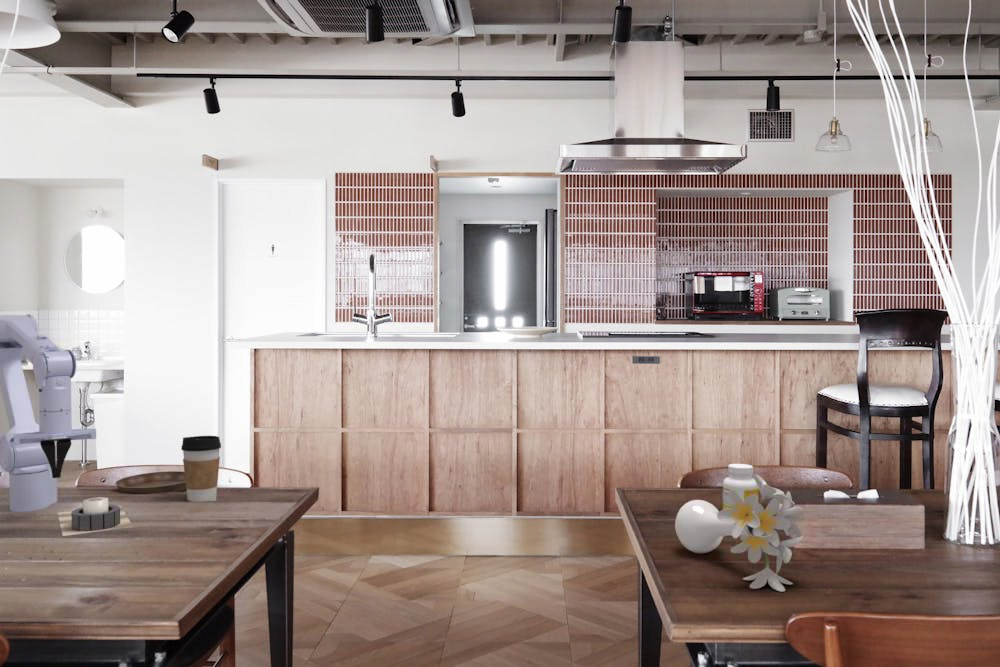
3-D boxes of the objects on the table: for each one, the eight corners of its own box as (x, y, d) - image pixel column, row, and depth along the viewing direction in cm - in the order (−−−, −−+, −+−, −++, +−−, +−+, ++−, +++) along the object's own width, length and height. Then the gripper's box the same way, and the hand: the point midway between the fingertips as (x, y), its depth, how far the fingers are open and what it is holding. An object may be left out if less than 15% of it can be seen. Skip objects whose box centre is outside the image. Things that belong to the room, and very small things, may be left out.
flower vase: (677, 591, 139) (771, 602, 117) (647, 489, 142) (733, 480, 119) (735, 568, 144) (835, 575, 122) (704, 470, 147) (797, 459, 124)
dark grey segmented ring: (86, 519, 159) (85, 504, 159) (127, 519, 159) (127, 504, 159) (62, 531, 150) (62, 515, 150) (106, 531, 150) (106, 515, 150)
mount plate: (57, 517, 164) (57, 512, 164) (120, 509, 170) (120, 505, 170) (62, 541, 147) (62, 535, 147) (133, 531, 153) (133, 526, 153)
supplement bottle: (760, 528, 155) (760, 464, 155) (756, 537, 149) (756, 470, 149) (725, 524, 158) (726, 461, 158) (720, 533, 152) (720, 467, 152)
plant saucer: (107, 501, 179) (107, 488, 179) (124, 485, 196) (124, 472, 196) (190, 497, 183) (190, 484, 183) (199, 481, 200) (199, 469, 200)
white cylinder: (90, 522, 157) (90, 497, 156) (112, 522, 157) (112, 497, 157) (79, 528, 152) (78, 502, 152) (101, 528, 152) (101, 502, 152)
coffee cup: (173, 505, 174) (172, 438, 174) (201, 497, 182) (200, 432, 182) (203, 508, 171) (202, 440, 171) (230, 500, 179) (229, 434, 179)
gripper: (13, 414, 152) (14, 484, 152) (97, 409, 159) (98, 476, 160) (13, 411, 158) (14, 478, 158) (94, 406, 165) (95, 470, 166)
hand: (56, 477), depth 159 cm, fingers closed
